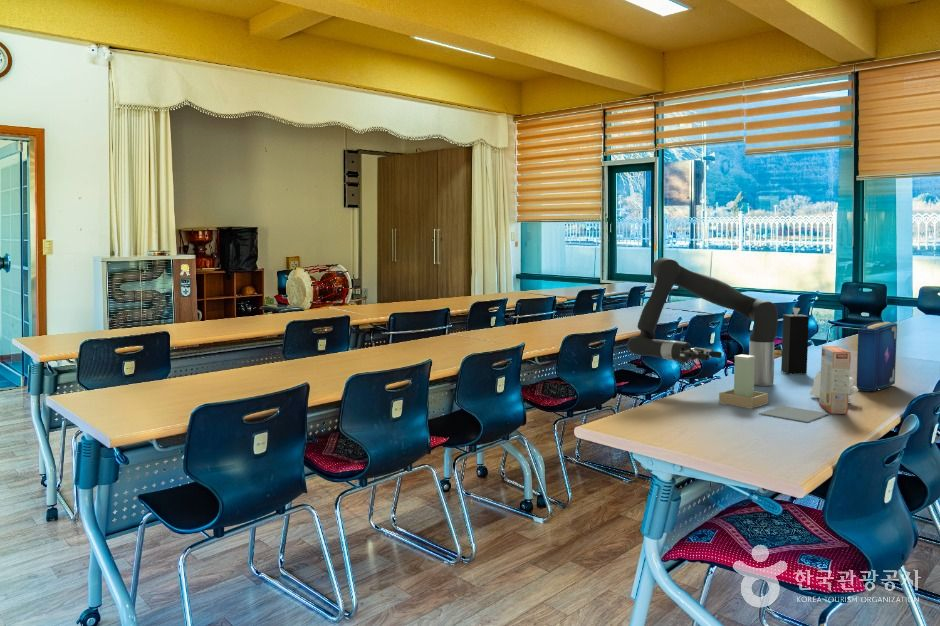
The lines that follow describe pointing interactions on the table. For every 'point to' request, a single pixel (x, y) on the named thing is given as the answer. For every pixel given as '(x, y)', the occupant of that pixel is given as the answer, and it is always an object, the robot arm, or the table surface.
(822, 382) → the cracker box
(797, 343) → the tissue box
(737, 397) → the wooden square frame
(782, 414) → the mat
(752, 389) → the tea tin
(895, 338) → the book
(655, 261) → the robot arm
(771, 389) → the table surface
